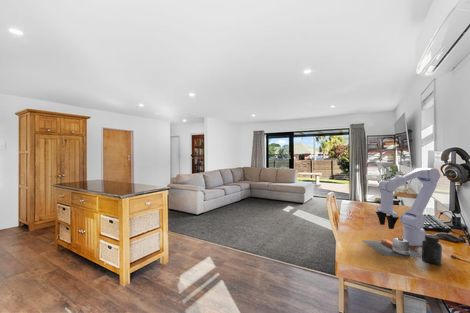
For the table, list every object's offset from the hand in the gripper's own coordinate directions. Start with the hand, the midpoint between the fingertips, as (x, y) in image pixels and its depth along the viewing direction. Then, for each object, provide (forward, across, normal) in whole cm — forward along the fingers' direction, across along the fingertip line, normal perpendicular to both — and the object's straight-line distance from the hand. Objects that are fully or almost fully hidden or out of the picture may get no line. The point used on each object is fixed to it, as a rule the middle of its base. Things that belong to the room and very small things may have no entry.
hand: (386, 226), depth 122 cm
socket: (+7, +13, -1) cm, 15 cm away
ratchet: (+9, +8, -1) cm, 12 cm away
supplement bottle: (+10, +22, +6) cm, 25 cm away
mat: (+9, +7, -2) cm, 12 cm away
